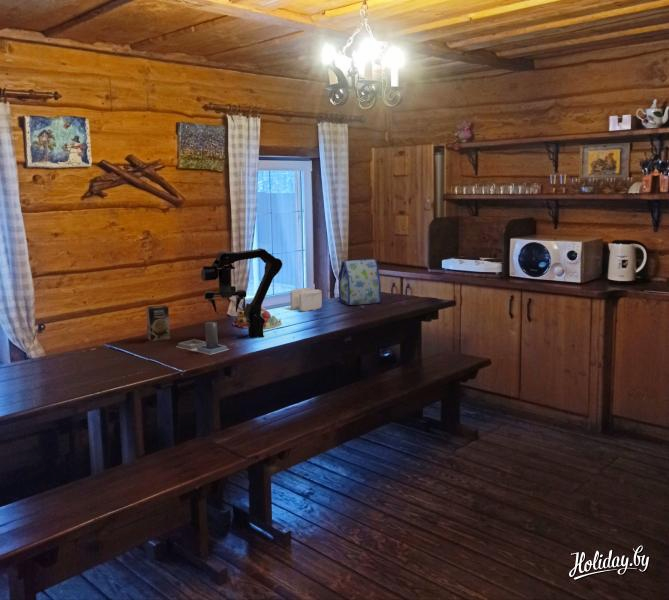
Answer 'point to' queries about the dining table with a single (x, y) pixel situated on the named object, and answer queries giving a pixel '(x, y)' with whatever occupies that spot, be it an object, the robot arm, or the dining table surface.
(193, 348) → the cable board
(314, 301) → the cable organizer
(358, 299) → the lunch bag
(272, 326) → the candy landscape model
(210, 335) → the grey cylinder
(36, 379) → the dining table surface
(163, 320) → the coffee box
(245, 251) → the robot arm
